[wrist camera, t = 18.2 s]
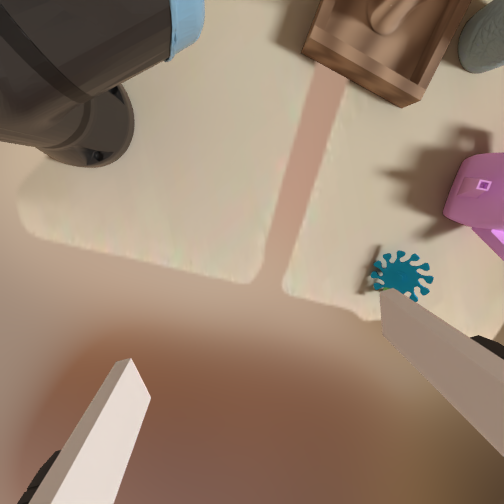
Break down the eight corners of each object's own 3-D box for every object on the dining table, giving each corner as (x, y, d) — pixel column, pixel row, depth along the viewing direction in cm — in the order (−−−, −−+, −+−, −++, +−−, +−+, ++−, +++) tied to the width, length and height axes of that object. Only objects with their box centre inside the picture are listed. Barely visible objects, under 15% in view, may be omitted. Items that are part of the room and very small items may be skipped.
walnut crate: (301, 52, 35) (309, 37, 32) (360, -107, 31) (379, -147, 27) (401, 108, 39) (420, 100, 35) (468, -27, 34) (498, -53, 31)
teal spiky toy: (389, 240, 44) (447, 271, 39) (393, 240, 49) (446, 267, 44) (356, 287, 48) (405, 320, 43) (363, 282, 53) (408, 312, 48)
